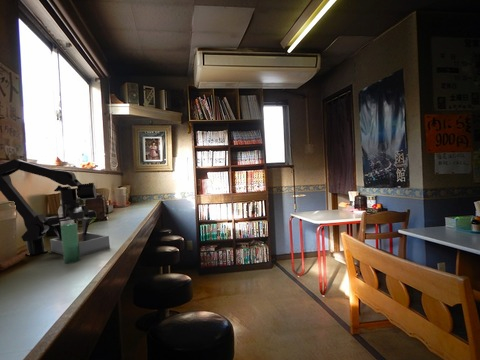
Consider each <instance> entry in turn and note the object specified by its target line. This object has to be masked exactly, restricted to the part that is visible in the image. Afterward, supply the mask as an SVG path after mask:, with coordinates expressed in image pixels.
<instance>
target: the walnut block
mask: <svg viewBox="0 0 480 360" xmlns="http://www.w3.org/2000/svg"><path fill="white" fill-rule="evenodd" d="M78 240H79V242H83V241H82V232H78Z"/></svg>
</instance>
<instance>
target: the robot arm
mask: <svg viewBox="0 0 480 360" xmlns="http://www.w3.org/2000/svg"><path fill="white" fill-rule="evenodd" d="M17 171H22V172H24V173H25V172H26V173H29V174H33V175H35V176H36V175H37V176H39V177H43V178H47V179H50V181H53V182H55V183H57V184H58V185H57V186H56V188H55V189H54V192H60V200H61V202H62V204H60V206H61V207H62V211H63V214H62V216H63V217H59V216H56V215H53V216H50V217H48V216H47V217H46V216H45V213H44V212H41V213H37V212H36V211H35V210H34V209H33V208H32V207H31V205H30V204H29V203H28V202H27V201H26V199H25V198H24V197H23V196H22V194H21V193H20V192H19V191H18V190H17V189H16V187H15V186H14V184H13V182H12V179H11V175H13V174H15V173H16V172H17ZM72 187H73V188H72ZM76 187H77V188H76ZM97 192H98V191H97V188H96V185H95V182H88V183H81V182H80V181H79V180H78V179H77V176H76V174H75V173H74V172H73V171H69V170H60V169H53V168H49V167H45V166H42V165H39V164H34V163H32V162H28V161H24V160H22V159H18V158H17V159H16V158H13V159H11V160H9V161H6V162H3V163H0V193H1V194H2V196H4V198H6V200H7V201H8V202H9V201H14V202H15V205H16V209H15V211H16V212H17V213H18V214H19V216H21V217H22V220H23V224H24V226H25V228H26V231H25V232H24V233H23V234H22V235H21V236H20V237H21V240H22V241H23V242H26V243H25V244H26V250H29V253H30V255H29V256H28V257H33V256H36V255H40V254H45V253H47V252H48V250H47V249H45V241H44V237H45V236H46V233H47V231H49V230H50V228H51V229H52V230H53V231H54V232H55V234H56V235H57V238H59V239H60V240H61V241H62V236H61V221H67V220H74V221H75V220H79V219H80V220H81V223H82V224H81V225H82V226H81V227H82V232H83V233H84V235H86V233H87V232H88V229H89V225H90V223H91V222H92V220H94V219H95V218H97V217H98V215H97V212H96V210H89V206H88V205H82V206H80V202H78V198H79V199H80V200H84V201H85V200H91V199H92V200H93V199H96V198H97ZM66 217H67V218H66ZM59 223H60V224H59Z"/></svg>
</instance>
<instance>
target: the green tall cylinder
mask: <svg viewBox="0 0 480 360" xmlns="http://www.w3.org/2000/svg"><path fill="white" fill-rule="evenodd" d="M60 228H61V236H62V246H63V255H62V256H63V263H64V264H74V263H76V262H79V261H81V256H80V250H79V240H78V233H79V231H78V224H77V223H75V222H74V223H71V224H65V225H61V227H60Z"/></svg>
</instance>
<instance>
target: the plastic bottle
mask: <svg viewBox="0 0 480 360" xmlns="http://www.w3.org/2000/svg"><path fill="white" fill-rule="evenodd" d="M59 201H60V206H59V208H58V210H57V214H58V217H63V216H62V214H63V211H62V207H61V204H62V202H61V199H60V200H59ZM66 218H67V217H66ZM71 223H75V220H67V221H61V222H60V224H61V225H65V224H71Z"/></svg>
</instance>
